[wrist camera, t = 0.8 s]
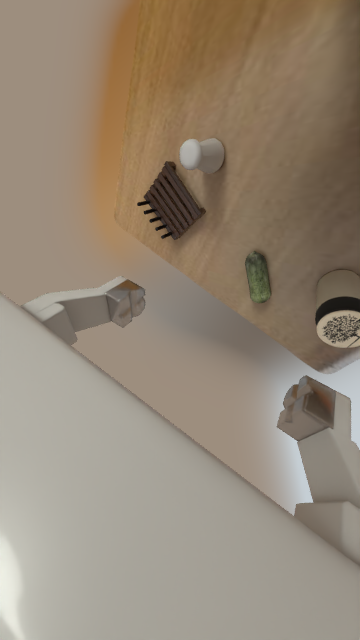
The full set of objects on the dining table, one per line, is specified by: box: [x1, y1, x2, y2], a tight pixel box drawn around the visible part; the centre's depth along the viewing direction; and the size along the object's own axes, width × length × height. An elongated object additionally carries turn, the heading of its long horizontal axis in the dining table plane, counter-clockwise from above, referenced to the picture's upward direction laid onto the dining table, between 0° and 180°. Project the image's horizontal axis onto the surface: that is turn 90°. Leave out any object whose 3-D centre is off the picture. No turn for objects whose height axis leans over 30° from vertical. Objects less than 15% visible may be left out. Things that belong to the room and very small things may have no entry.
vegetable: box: [245, 251, 271, 303], centre depth 51 cm, size 14×5×5 cm, turn 22°
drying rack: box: [137, 161, 206, 240], centre depth 51 cm, size 11×14×7 cm
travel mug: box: [315, 270, 360, 348], centre depth 39 cm, size 8×8×18 cm
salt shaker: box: [179, 139, 224, 173], centre depth 40 cm, size 6×6×13 cm
